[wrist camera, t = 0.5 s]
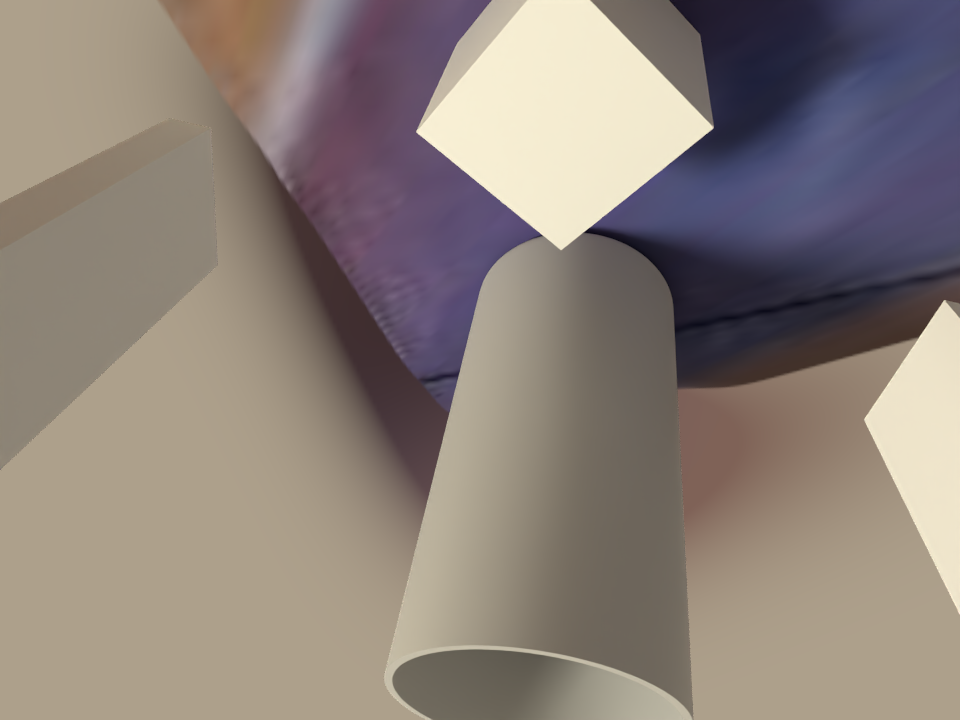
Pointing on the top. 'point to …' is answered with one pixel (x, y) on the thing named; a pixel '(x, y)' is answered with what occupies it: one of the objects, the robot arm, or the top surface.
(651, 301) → the cylinder vase
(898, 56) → the top surface
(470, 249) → the top surface
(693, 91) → the cover
